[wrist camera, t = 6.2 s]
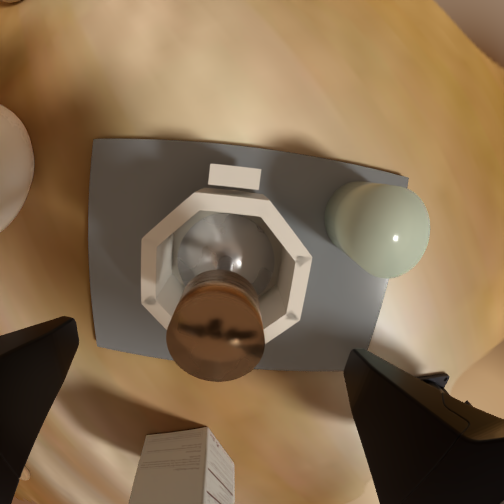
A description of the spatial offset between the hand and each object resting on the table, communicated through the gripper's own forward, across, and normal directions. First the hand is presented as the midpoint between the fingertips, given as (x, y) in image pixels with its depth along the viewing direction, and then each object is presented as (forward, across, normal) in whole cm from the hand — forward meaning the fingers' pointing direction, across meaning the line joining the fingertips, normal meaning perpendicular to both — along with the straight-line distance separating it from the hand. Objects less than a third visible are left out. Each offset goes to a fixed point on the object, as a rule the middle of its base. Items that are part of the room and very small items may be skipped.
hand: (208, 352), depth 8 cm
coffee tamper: (+10, 0, 0) cm, 10 cm away
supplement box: (+12, +2, +22) cm, 25 cm away
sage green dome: (+11, -9, -3) cm, 15 cm away
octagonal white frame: (+11, 0, 0) cm, 11 cm away
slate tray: (+12, -1, +1) cm, 12 cm away
